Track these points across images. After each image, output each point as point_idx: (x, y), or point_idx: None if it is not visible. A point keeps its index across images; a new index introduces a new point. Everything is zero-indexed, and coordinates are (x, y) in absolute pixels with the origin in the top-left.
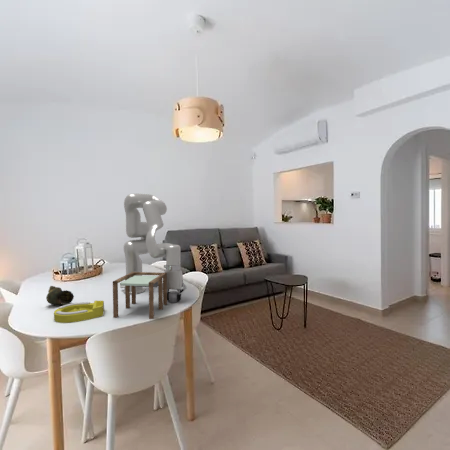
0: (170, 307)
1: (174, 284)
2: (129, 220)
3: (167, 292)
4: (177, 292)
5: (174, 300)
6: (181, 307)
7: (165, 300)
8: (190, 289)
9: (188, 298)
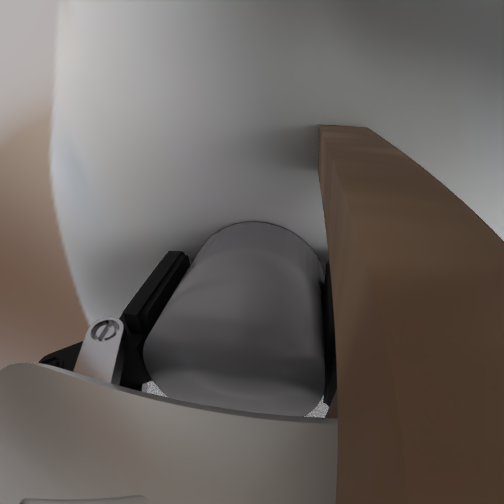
0: (209, 33)
1: (47, 496)
2: None
3: None
4: (154, 368)
5: (213, 245)
6: (76, 79)
7: (335, 137)
8: None
9: None
